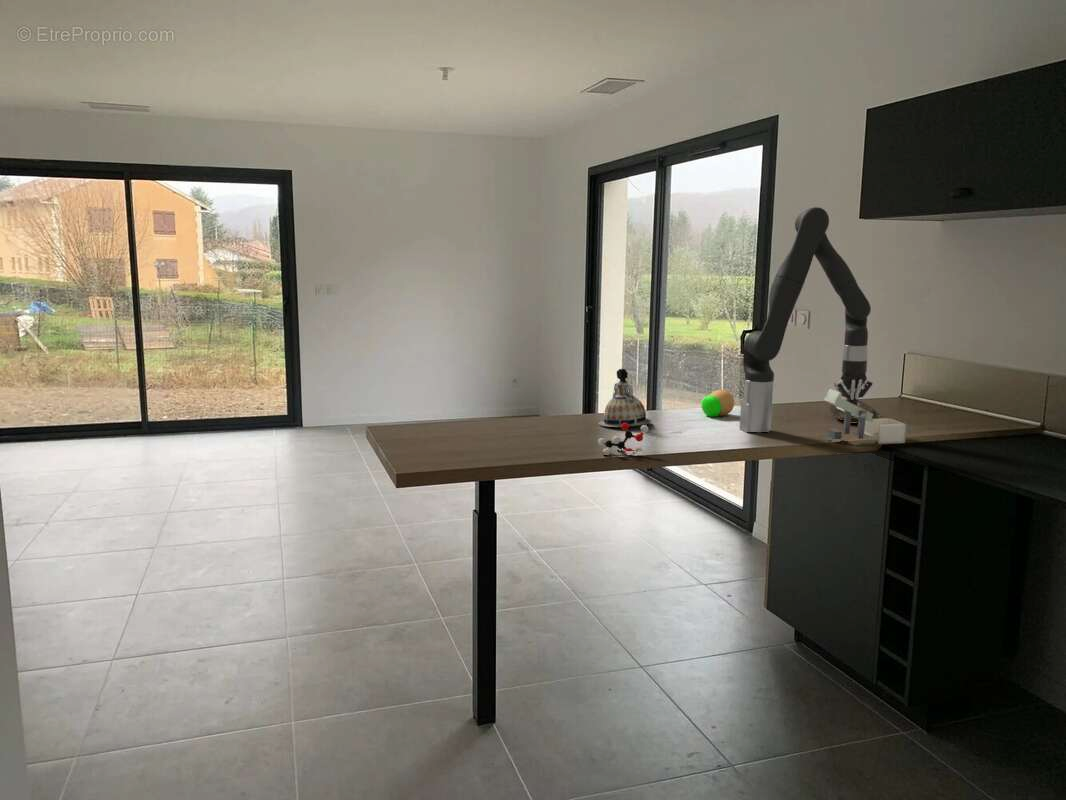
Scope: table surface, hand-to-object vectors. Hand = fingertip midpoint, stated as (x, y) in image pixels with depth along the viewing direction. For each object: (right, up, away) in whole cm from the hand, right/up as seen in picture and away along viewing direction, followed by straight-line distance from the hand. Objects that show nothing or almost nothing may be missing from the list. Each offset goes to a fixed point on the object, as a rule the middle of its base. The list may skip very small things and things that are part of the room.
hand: (851, 409), depth 263 cm
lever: (-6, 0, -7) cm, 9 cm away
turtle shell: (+8, -4, +19) cm, 21 cm away
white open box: (+6, -10, -9) cm, 15 cm away
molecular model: (-79, -13, -28) cm, 85 cm away
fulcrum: (-6, -10, -11) cm, 15 cm away
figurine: (-74, -5, +10) cm, 75 cm away
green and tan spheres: (-39, -2, +26) cm, 47 cm away
